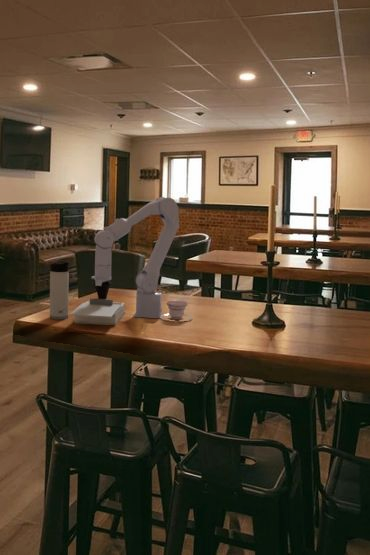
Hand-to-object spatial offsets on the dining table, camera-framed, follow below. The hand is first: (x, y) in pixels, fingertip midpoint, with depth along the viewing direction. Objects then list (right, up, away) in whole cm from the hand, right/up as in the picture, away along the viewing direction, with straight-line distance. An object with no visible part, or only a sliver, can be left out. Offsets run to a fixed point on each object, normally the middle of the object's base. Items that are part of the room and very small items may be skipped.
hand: (102, 302), depth 190 cm
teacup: (+26, -6, +3) cm, 27 cm away
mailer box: (0, -6, -1) cm, 6 cm away
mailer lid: (-1, -2, -9) cm, 9 cm away
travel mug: (-15, -6, -3) cm, 16 cm away
